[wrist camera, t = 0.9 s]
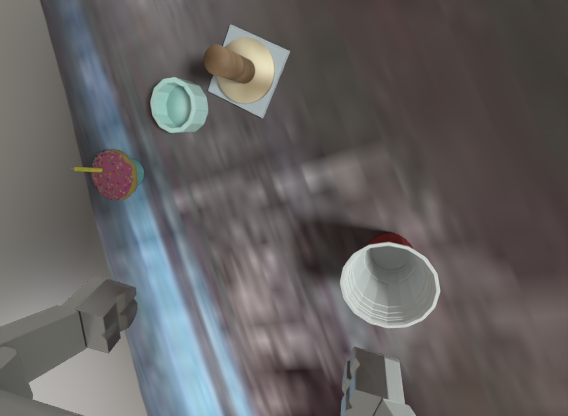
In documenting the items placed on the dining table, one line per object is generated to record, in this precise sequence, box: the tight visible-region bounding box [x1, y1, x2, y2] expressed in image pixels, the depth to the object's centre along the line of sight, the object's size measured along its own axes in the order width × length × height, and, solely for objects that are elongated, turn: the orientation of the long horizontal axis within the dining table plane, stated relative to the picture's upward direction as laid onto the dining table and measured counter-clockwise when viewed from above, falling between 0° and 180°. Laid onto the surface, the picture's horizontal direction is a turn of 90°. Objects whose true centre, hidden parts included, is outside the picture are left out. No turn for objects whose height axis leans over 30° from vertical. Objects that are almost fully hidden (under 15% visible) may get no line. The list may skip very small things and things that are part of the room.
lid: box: [204, 37, 275, 104], centre depth 45 cm, size 9×9×9 cm
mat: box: [208, 24, 290, 118], centre depth 50 cm, size 10×10×1 cm
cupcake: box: [70, 150, 144, 200], centre depth 55 cm, size 9×8×12 cm
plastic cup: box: [340, 233, 440, 328], centre depth 43 cm, size 11×11×12 cm
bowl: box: [150, 77, 208, 133], centre depth 53 cm, size 8×8×4 cm
